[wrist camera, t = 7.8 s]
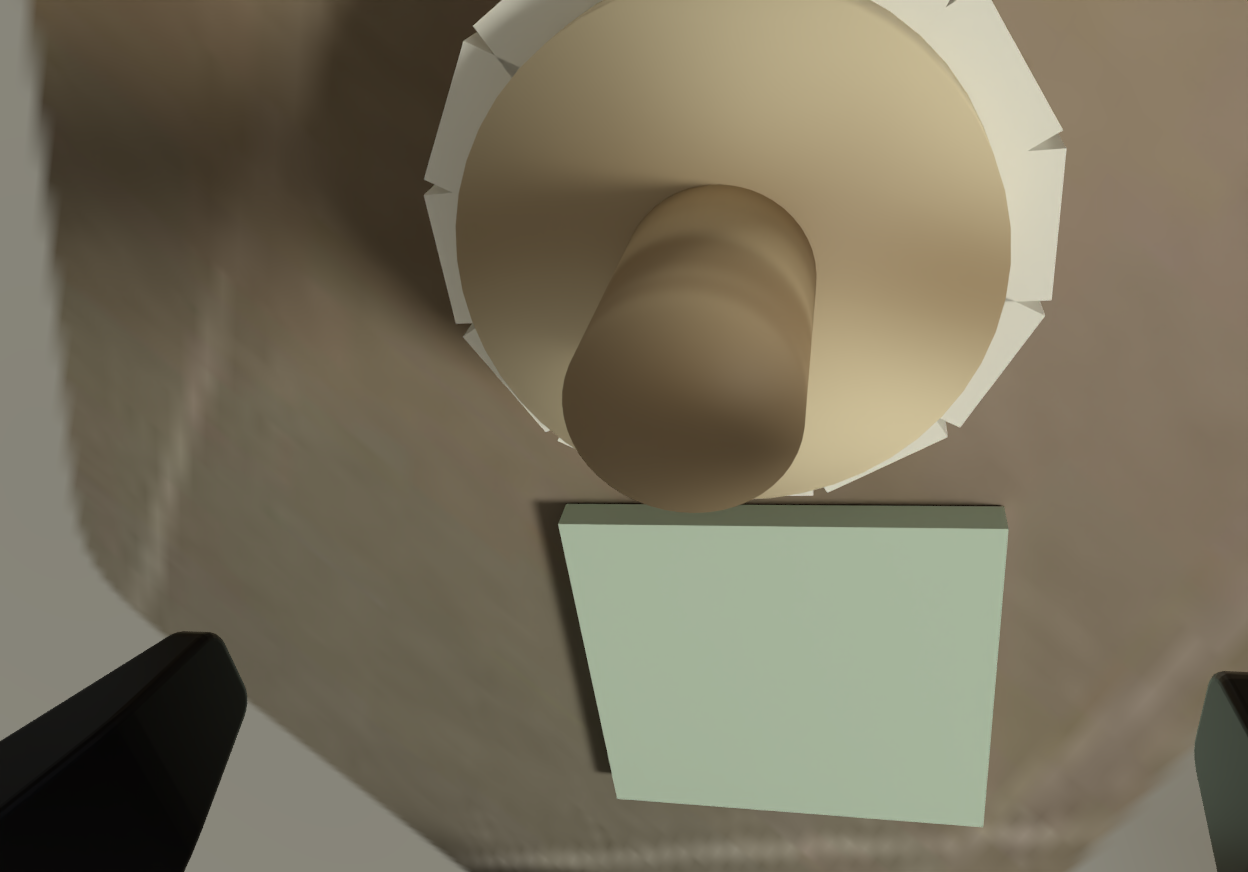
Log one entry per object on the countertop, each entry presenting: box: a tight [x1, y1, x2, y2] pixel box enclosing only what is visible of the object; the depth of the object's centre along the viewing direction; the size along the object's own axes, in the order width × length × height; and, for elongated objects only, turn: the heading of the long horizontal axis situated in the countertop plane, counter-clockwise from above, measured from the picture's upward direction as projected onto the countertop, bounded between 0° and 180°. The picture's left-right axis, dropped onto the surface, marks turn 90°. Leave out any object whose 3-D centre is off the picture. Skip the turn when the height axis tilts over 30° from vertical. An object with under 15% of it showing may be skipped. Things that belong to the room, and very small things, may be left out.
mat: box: [558, 504, 1008, 827], centre depth 25 cm, size 10×10×1 cm
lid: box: [456, 0, 1011, 513], centre depth 13 cm, size 8×8×5 cm
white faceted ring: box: [424, 0, 1066, 496], centre depth 17 cm, size 10×10×4 cm
